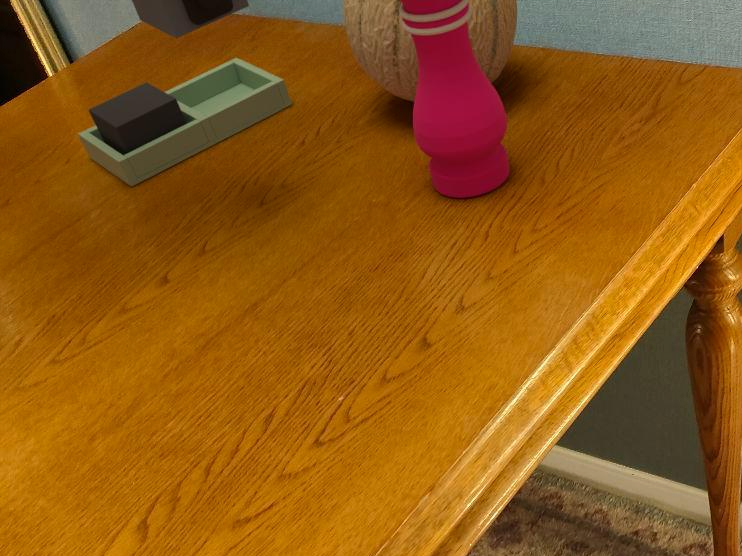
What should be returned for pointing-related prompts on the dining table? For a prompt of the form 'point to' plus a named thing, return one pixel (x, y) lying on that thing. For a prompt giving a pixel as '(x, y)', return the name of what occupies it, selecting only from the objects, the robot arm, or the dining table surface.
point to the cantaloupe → (397, 49)
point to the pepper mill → (454, 101)
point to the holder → (197, 119)
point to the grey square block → (174, 15)
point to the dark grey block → (137, 118)
